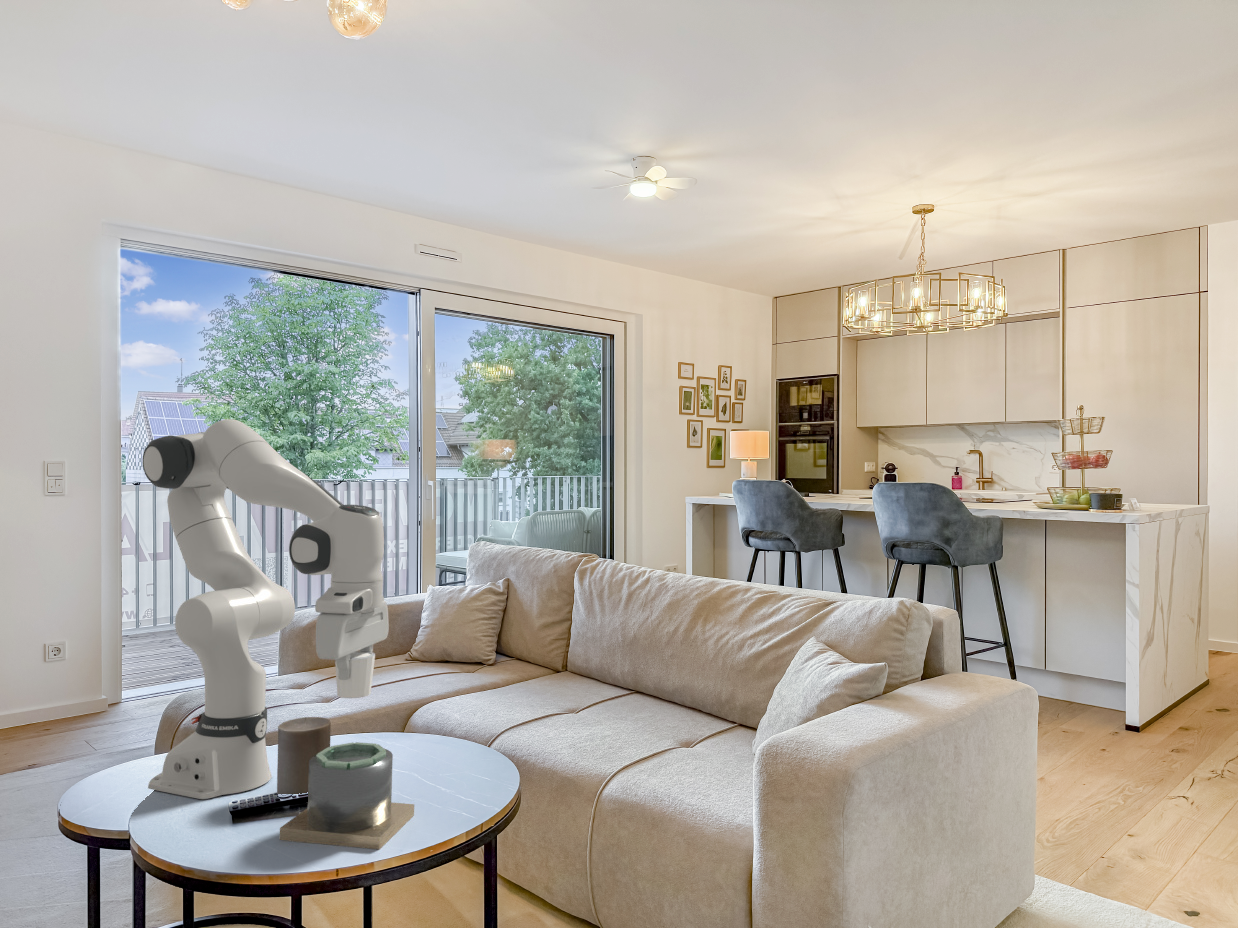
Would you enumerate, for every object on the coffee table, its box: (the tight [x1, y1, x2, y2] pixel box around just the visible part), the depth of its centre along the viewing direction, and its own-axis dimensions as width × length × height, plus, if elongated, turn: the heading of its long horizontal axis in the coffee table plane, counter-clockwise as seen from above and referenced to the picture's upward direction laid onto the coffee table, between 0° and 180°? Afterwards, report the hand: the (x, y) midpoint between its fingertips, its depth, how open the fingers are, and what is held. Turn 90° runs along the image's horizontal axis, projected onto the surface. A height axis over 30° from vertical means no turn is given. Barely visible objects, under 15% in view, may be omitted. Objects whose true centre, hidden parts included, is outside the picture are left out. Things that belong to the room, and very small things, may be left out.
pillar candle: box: [276, 716, 332, 795], centre depth 154 cm, size 10×10×15 cm
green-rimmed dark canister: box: [279, 741, 415, 850], centre depth 140 cm, size 18×14×13 cm
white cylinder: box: [334, 650, 376, 699], centre depth 141 cm, size 7×7×7 cm
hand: (354, 674), depth 141 cm, fingers closed on white cylinder, 5 cm apart
